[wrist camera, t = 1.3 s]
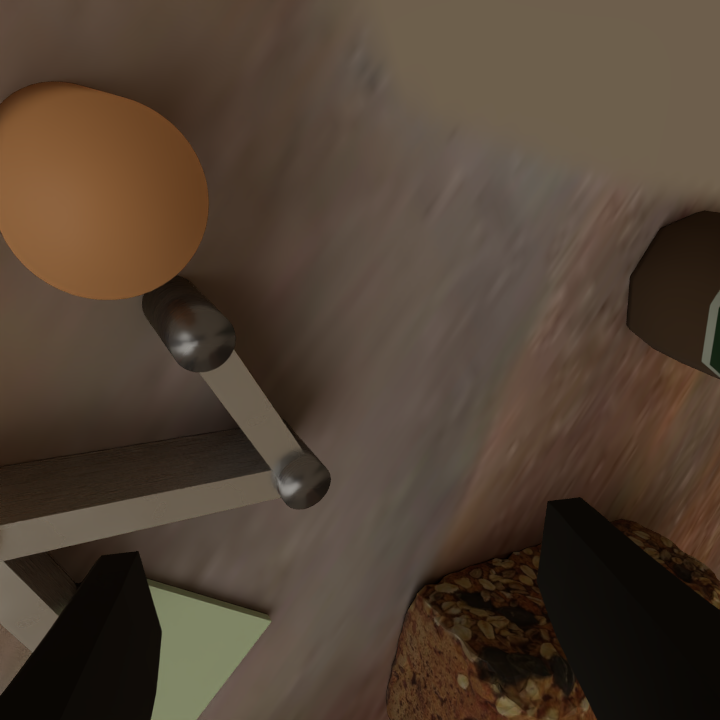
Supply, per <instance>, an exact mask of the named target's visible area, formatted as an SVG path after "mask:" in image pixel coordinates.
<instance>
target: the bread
mask: <svg viewBox="0 0 720 720" xmlns="http://www.w3.org/2000/svg"><path fill="white" fill-rule="evenodd" d="M611 523H612V524H613V525H614V526H615V527H616V528H618V529H619V530H620V531H621V532H622V533H623V534H625V535H626V536H627V537H628V538H629V539H631V540H632V541H633V542H634V543H635V544H637V545H638V546H639V547H640V548H641V549H643V550H644V551H645V552H646V553H647V554H649V555H650V556H651V557H652V558H654V559H655V560H656V561H657V562H659V563H660V564H661V565H662V566H663V567H665V568H666V569H667V570H669V571H670V572H671V573H672V574H674V575H675V576H676V577H677V578H679V579H680V580H681V581H682V582H684V583H685V584H686V585H688V586H689V587H690V588H691V589H693V590H694V591H695V592H697V593H698V594H699V595H701V596H702V597H703V598H705V599H706V600H707V601H709V602H710V603H711V604H713V605H714V606H715V607H717V608H718V609H719V610H720V581H719V580H718V579H717V578H716V576H715V574H714V573H713V572H712V571H711V570H710V569H709V568H708V567H707V566H706V565H705V564H703V563H702V562H700V561H698V560H697V559H696V558H694V557H692V556H690V555H688V554H686V553H684V552H683V551H681V550H680V549H679V548H678V547H677V546H676V545H675V544H674V543H673V542H672V541H670V540H669V539H667V538H665V537H663V536H661V535H660V534H658V533H656V532H654V531H652V530H649V529H647V528H645V527H643V526H641V525H640V524H638V523H636V522H633V521H628V520H623V519H620V520H616V521H613V522H611ZM541 546H542V544H539V545H538V546H536V547H528V548H526V549H524V550H522V551H520V552H513V553H512V554H511V556H510V557H509V558H508V559H504V560H502V559H497V558H495V559H493V560H490V561H488V562H485V563H481V564H477V565H473V566H470V567H467V568H465V569H463V570H461V571H459V572H456V573H451V574H449V575H447V576H445V577H443V579H442V580H441V581H440V582H439V583H438V584H431V585H425V586H424V587H423V588H422V589H421V590H420V591H419V592H418V593H417V596H416V598H415V599H414V601H413V603H412V604H411V606H410V608H409V609H408V611H407V613H406V616H405V620H404V624H403V630H402V633H401V635H400V638H399V643H398V649H397V654H396V658H395V661H394V663H393V665H392V675H391V678H390V681H389V685H388V688H387V695H386V703H387V713H388V716H389V718H390V720H597V719H596V717H595V715H594V713H593V711H592V709H591V707H590V704H589V702H588V700H587V698H586V696H585V694H584V692H583V690H582V688H581V686H580V684H579V682H578V680H577V678H576V676H575V674H574V672H573V670H572V668H571V666H570V664H569V662H568V660H567V658H566V656H565V654H564V652H563V650H562V648H561V645H560V643H559V641H558V639H557V637H556V635H555V632H554V629H553V627H552V624H551V621H550V618H549V616H548V613H547V610H546V607H545V604H544V602H543V599H542V596H541V593H540V590H539V587H538V584H537V574H538V567H539V560H540V553H541Z"/></svg>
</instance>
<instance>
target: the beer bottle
mask: <svg viewBox="0 0 720 720" xmlns="http://www.w3.org/2000/svg"><path fill="white" fill-rule="evenodd" d="M626 325H627V326H628V327H629V329H630V330H631V331H632V332H634V333H635V334H636V335H637V336H639V337H640V338H641V339H642V340H643V341H645V342H646V343H647V344H648V345H650V346H651V347H652V348H653V349H655V350H657V351H659V352H661V353H663V354H665V355H667V356H669V357H671V358H673V359H675V360H677V361H679V362H681V363H683V364H685V365H688V366H690V367H692V368H695V369H697V370H699V371H702V372H704V373H706V374H709V375H711V376H713V377H716V378H718V379H720V213H717V212H710V211H702V212H698V213H695V214H693V215H690V216H688V217H686V218H684V219H681V220H679V221H677V222H675V223H672V224H670V225H668V226H665V227H663V228H661V229H660V230H659V231H658V233H657V235H656V236H655V238H654V239H653V241H652V243H651V244H650V246H649V247H648V249H647V251H646V252H645V254H644V256H643V257H642V259H641V260H640V262H639V264H638V265H637V267H636V268H635V270H634V272H633V273H632V275H631V277H630V285H629V298H628V311H627V324H626Z"/></svg>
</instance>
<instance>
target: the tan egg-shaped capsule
mask: <svg viewBox="0 0 720 720" xmlns="http://www.w3.org/2000/svg"><path fill="white" fill-rule="evenodd" d="M208 209H209V198H208V188H207V183H206V178H205V175H204V172H203V169H202V166H201V164H200V162H199V159H198V157H197V155H196V153H195V152H194V150H193V148H192V147H191V145H190V143H189V142H188V141H187V140H186V138H185V137H184V136H183V135H182V133H181V132H180V131H179V130H178V129H177V128H176V127H175V126H174V125H173V124H172V123H171V122H169V121H168V120H167V119H166V118H164V117H163V116H162V115H160V114H159V113H157V112H156V111H154V110H152V109H151V108H149V107H147V106H145V105H143V104H141V103H138V102H136V101H134V100H131V99H127V98H124V97H121V96H117V95H114V94H110V93H106V92H103V91H99V90H95V89H92V88H88V87H85V86H81V85H77V84H73V83H67V82H56V81H51V82H41V83H37V84H32V85H29V86H27V87H24V88H22V89H20V90H18V91H16V92H14V93H13V94H11V95H10V96H9V97H7V98H6V99H5V100H4V101H3V102H2V103H1V104H0V231H1V233H2V235H3V237H4V239H5V241H6V243H7V244H8V246H9V247H10V249H11V250H12V252H13V253H14V254H15V256H16V257H17V258H18V259H19V260H20V261H21V262H22V264H23V265H24V266H25V267H26V268H28V269H29V270H30V271H31V272H32V273H33V274H35V275H36V276H37V277H39V278H40V279H42V280H43V281H45V282H46V283H48V284H49V285H51V286H53V287H55V288H57V289H59V290H62V291H64V292H67V293H70V294H72V295H76V296H80V297H84V298H89V299H98V300H117V299H126V298H131V297H135V296H139V295H142V294H144V293H147V292H150V291H152V290H154V289H156V288H158V287H160V286H162V285H163V284H165V283H166V282H168V281H169V280H171V279H172V278H173V277H175V276H176V275H177V274H178V273H179V272H180V271H181V270H182V269H183V268H184V267H185V266H186V265H187V263H188V262H189V261H190V260H191V258H192V257H193V255H194V254H195V252H196V250H197V248H198V246H199V244H200V242H201V240H202V238H203V235H204V232H205V229H206V224H207V219H208Z"/></svg>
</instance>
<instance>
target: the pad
mask: <svg viewBox="0 0 720 720" xmlns="http://www.w3.org/2000/svg"><path fill="white" fill-rule="evenodd" d="M147 582H148V585H149V589H150V592H151V595H152V599H153V602H154V606H155V609H156V612H157V616H158V619H159V622H160V626H161V629H162V638H161V650H160V662H159V672H158V681H157V691H156V697H155V702H154V707H153V712H152V717H151V720H196V719H197V718H198V717H199V716H200V714H201V713H202V712H203V710H204V709H205V708H206V706H207V705H208V704H209V703H210V701H211V700H212V699H213V697H214V696H215V695H216V693H217V692H218V691H219V689H220V688H221V687H222V686H223V684H224V683H225V682H226V680H227V679H228V678H229V676H230V675H231V674H232V673H233V671H234V670H235V669H236V667H237V666H238V665H239V663H240V662H241V661H242V659H243V658H244V657H245V656H246V654H247V653H248V652H249V650H250V649H251V648H252V646H253V645H254V644H255V643H256V641H257V640H258V639H259V637H260V636H261V635H262V633H263V632H264V631H265V629H266V628H267V627H268V626H269V624H270V623H271V622H272V621H271V619H270V617H269V615H267V614H264V613H260V612H257V611H254V610H250V609H247V608H243V607H240V606H237V605H233V604H230V603H227V602H223V601H220V600H217V599H213V598H210V597H207V596H203V595H200V594H197V593H193V592H190V591H186V590H183V589H180V588H176V587H173V586H170V585H166V584H163V583H160V582H156V581H153V580H150V579H147Z"/></svg>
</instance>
